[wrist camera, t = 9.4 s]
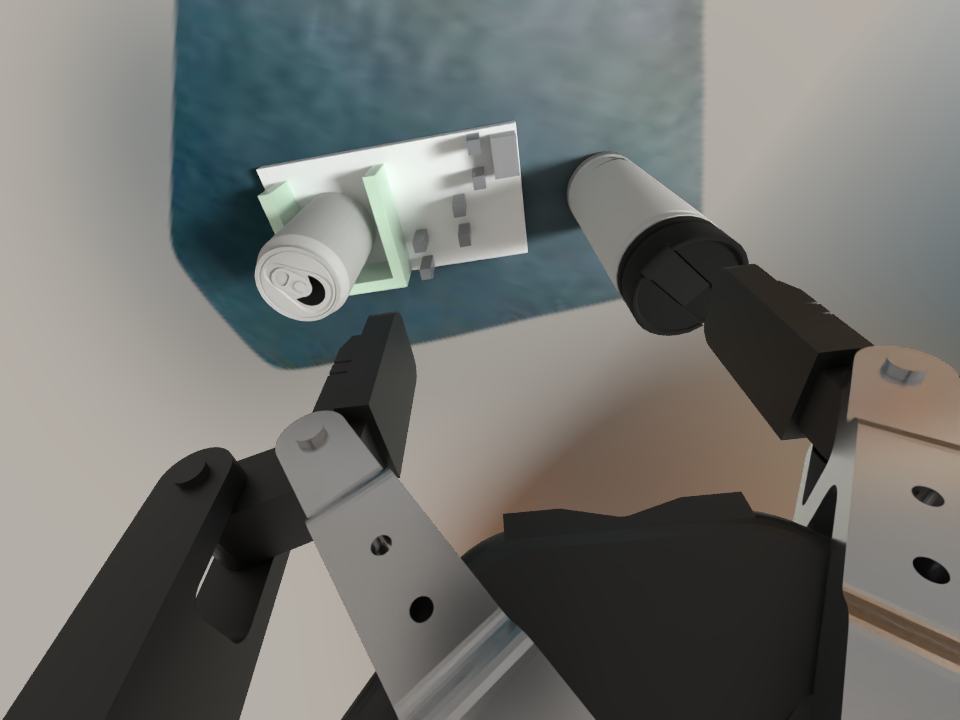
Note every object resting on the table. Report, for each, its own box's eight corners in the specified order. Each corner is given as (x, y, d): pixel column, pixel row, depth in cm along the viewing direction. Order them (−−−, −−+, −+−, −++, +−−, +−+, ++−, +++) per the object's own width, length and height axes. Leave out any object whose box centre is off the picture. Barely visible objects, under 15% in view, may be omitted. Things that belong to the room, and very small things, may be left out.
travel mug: (600, 131, 35) (706, 205, 19) (651, 182, 37) (783, 284, 21) (549, 193, 38) (603, 302, 22) (599, 236, 40) (681, 362, 24)
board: (261, 166, 36) (239, 178, 33) (514, 120, 34) (519, 128, 31) (312, 280, 43) (298, 300, 39) (526, 247, 41) (531, 265, 38)
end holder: (276, 182, 36) (257, 196, 33) (383, 163, 35) (374, 175, 32) (319, 282, 42) (306, 301, 38) (412, 267, 41) (407, 286, 38)
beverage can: (359, 271, 41) (324, 340, 31) (295, 235, 39) (236, 298, 29) (389, 217, 38) (360, 275, 28) (321, 174, 36) (265, 222, 26)
